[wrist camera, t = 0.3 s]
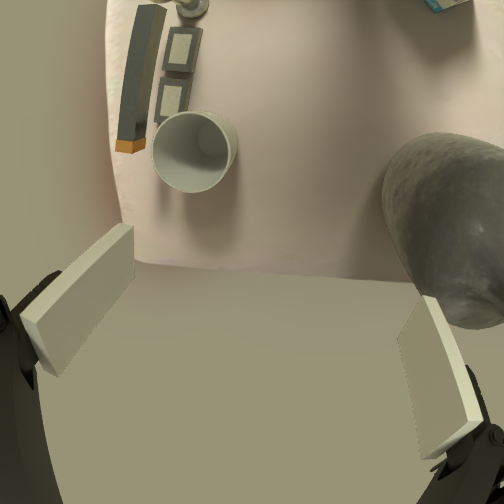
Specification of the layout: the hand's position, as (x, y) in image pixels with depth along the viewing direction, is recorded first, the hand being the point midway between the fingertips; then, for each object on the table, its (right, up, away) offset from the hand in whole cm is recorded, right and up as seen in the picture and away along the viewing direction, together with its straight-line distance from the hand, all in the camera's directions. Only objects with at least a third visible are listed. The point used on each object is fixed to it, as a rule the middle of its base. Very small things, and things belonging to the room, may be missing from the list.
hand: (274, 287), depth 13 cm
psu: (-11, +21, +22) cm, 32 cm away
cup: (-5, +16, +24) cm, 29 cm away
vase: (+22, +10, +22) cm, 32 cm away
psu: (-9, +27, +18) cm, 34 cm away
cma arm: (-11, +21, +12) cm, 27 cm away
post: (-8, +32, +15) cm, 36 cm away
